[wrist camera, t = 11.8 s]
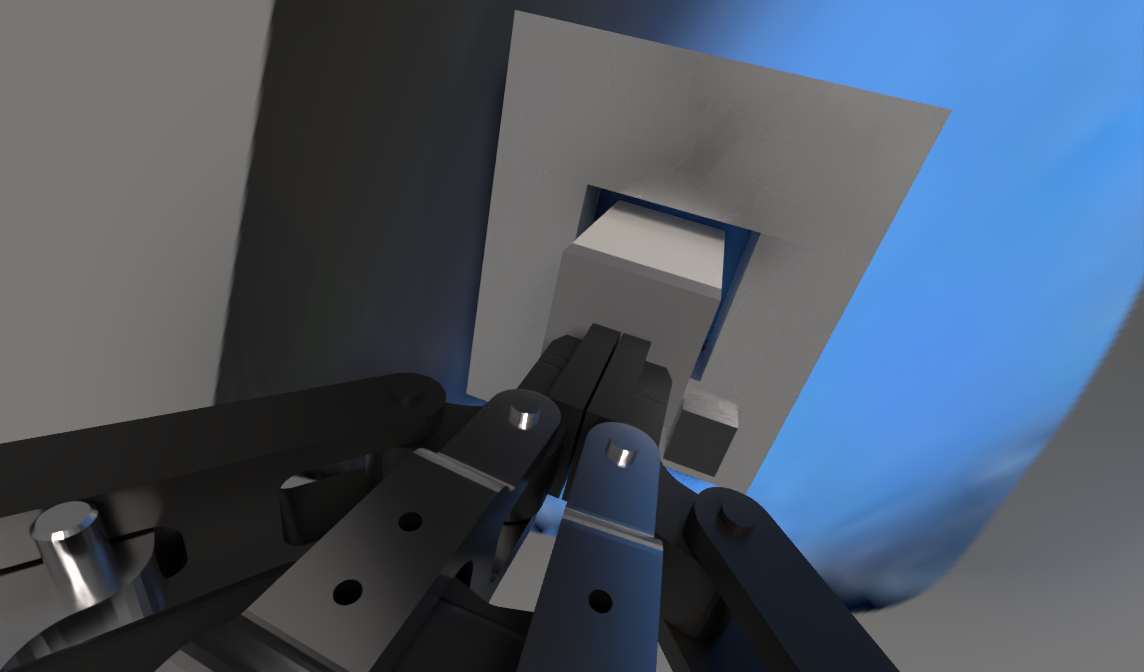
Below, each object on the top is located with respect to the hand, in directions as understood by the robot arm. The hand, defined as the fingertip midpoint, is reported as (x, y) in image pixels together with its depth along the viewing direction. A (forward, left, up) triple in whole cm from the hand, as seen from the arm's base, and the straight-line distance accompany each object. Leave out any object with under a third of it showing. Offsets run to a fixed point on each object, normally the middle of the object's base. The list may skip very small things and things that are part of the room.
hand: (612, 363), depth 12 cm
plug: (0, 0, -8) cm, 8 cm away
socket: (0, 0, -8) cm, 8 cm away
